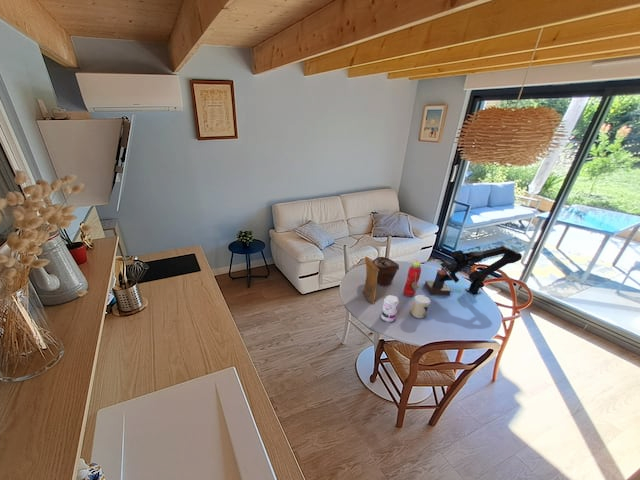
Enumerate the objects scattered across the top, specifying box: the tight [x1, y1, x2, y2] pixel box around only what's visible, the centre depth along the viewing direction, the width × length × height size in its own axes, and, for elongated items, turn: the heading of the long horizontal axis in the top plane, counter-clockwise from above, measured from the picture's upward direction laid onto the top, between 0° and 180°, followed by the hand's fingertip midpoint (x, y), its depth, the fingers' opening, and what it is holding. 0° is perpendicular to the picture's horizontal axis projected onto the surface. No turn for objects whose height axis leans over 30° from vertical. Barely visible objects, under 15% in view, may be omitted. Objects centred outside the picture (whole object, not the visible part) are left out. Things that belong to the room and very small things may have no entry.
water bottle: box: [403, 261, 422, 297], centre depth 192 cm, size 12×8×25 cm, turn 167°
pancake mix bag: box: [363, 255, 379, 304], centre depth 191 cm, size 7×19×28 cm, turn 2°
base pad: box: [424, 280, 452, 296], centre depth 203 cm, size 13×13×4 cm
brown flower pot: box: [372, 256, 400, 287], centre depth 211 cm, size 18×20×18 cm
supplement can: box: [380, 294, 400, 323], centre depth 173 cm, size 8×8×15 cm
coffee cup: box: [410, 294, 431, 319], centre depth 177 cm, size 9×9×12 cm
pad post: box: [433, 269, 448, 288], centre depth 199 cm, size 5×5×13 cm
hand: (438, 279), depth 199 cm, fingers closed on pad post, 5 cm apart
